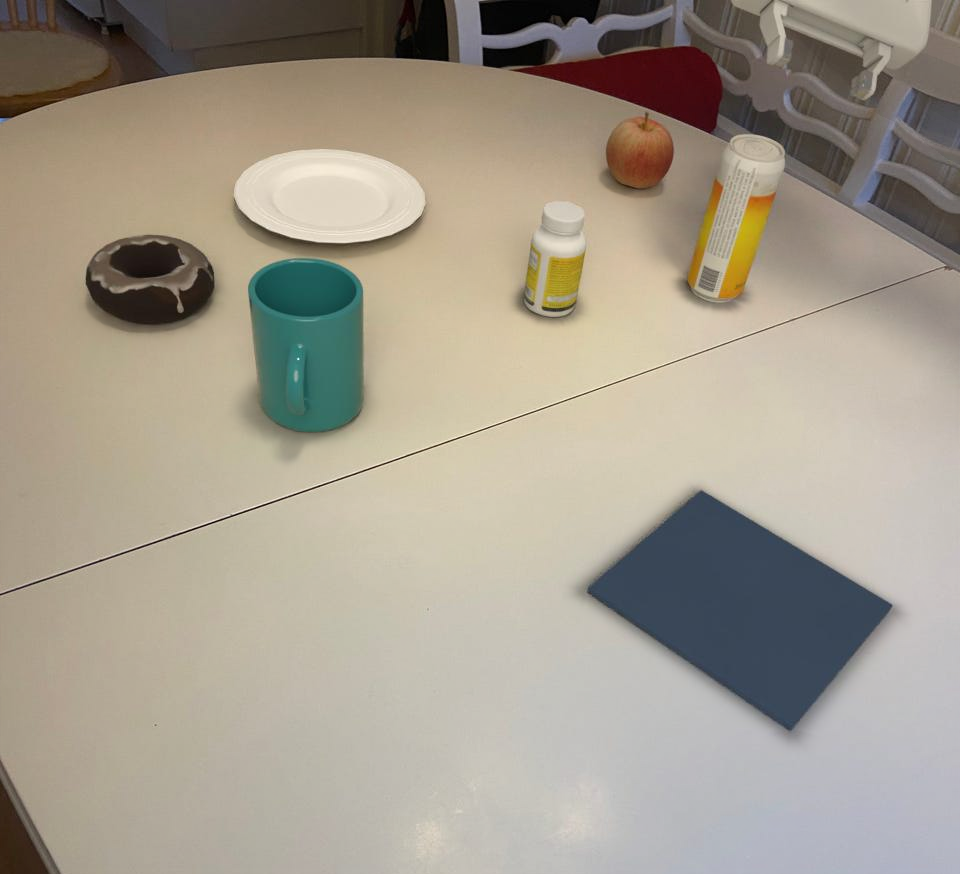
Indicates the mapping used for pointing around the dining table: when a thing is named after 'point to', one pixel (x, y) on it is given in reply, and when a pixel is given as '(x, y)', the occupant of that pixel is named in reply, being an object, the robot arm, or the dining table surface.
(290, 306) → the cup
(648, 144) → the apple
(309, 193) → the plate
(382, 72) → the dining table surface
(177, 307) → the donut
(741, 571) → the can mat
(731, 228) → the beer can
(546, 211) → the supplement bottle
